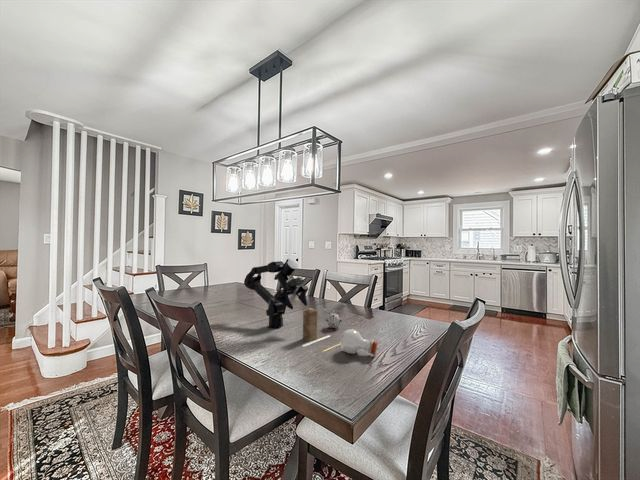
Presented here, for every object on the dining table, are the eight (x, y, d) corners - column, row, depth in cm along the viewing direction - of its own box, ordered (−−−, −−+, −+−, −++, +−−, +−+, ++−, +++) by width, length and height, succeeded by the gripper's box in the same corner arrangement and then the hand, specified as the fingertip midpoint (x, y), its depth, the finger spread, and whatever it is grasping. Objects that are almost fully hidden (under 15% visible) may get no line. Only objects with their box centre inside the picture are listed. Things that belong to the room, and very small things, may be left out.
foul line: (304, 346, 116) (304, 346, 116) (301, 345, 117) (301, 345, 117) (331, 336, 129) (331, 336, 129) (328, 335, 130) (328, 335, 130)
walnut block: (302, 338, 126) (303, 309, 126) (309, 335, 129) (310, 307, 129) (309, 340, 123) (310, 311, 123) (316, 338, 126) (317, 309, 126)
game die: (335, 334, 143) (346, 318, 145) (335, 333, 135) (346, 316, 137) (321, 324, 145) (332, 308, 148) (320, 323, 137) (331, 306, 140)
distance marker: (324, 351, 111) (324, 351, 111) (322, 351, 111) (322, 351, 111) (344, 342, 121) (344, 342, 121) (342, 342, 122) (342, 341, 122)
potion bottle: (339, 352, 114) (374, 363, 108) (334, 345, 106) (371, 357, 100) (345, 331, 118) (379, 340, 112) (341, 323, 111) (377, 332, 105)
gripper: (278, 273, 127) (293, 300, 120) (306, 270, 141) (321, 294, 134) (267, 287, 133) (281, 314, 125) (295, 283, 146) (309, 307, 139)
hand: (299, 307), depth 131 cm, fingers open, 9 cm apart
